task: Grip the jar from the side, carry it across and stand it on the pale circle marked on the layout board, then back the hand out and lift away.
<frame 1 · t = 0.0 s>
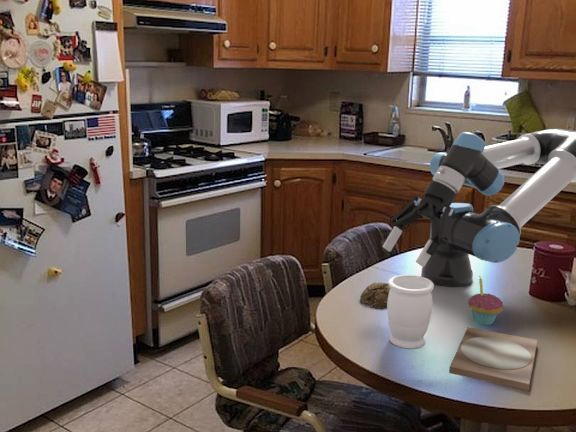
hand: (402, 256, 159), 15 cm above the table, tool tilted 35°, fingers open, 13 cm apart
layout board: (494, 358, 138), on the table
bread roll: (382, 301, 171), on the table
cupcake: (483, 321, 158), on the table
jar: (407, 341, 147), on the table
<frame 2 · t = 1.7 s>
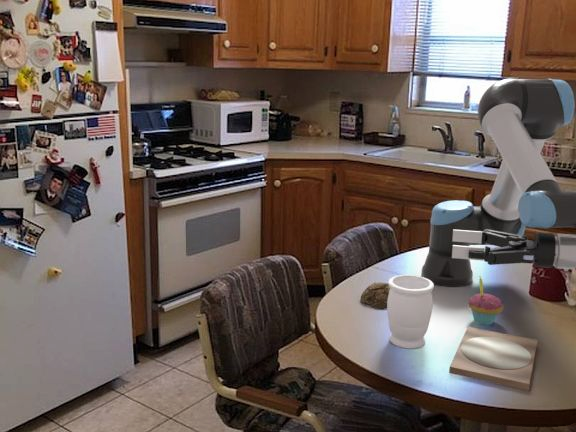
hand: (452, 243, 139), 25 cm above the table, tool horizontal, fingers open, 13 cm apart
nothing on the table moved.
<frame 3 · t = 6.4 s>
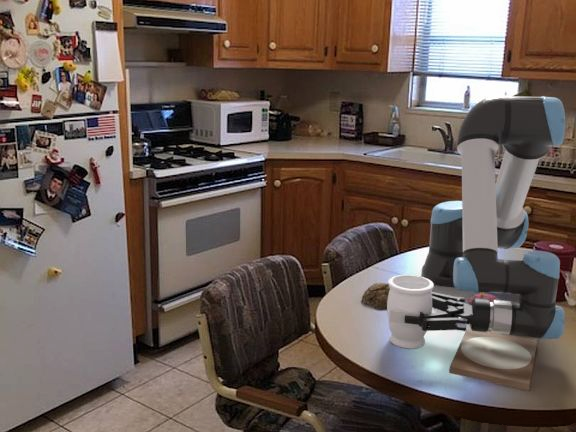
hand: (391, 306, 145), 9 cm above the table, tool horizontal, fingers closed on jar, 10 cm apart
jar: (407, 341, 147), on the table, touching gripper
everything else where it was.
when the fingers open (12 cm above the table, at t = 11.8 s): jar drops 1 cm, resting on layout board.
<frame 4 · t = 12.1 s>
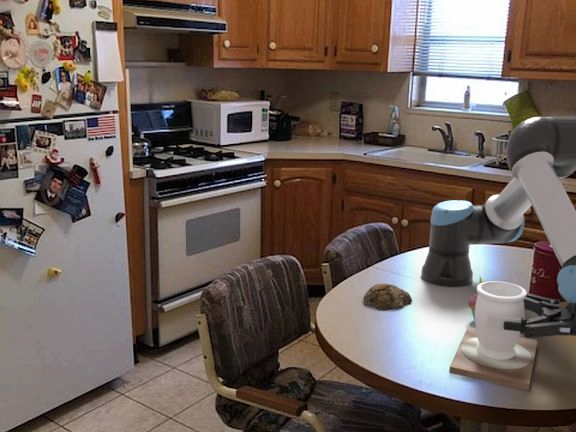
hand: (484, 309, 136), 12 cm above the table, tool horizontal, fingers open, 13 cm apart
jar: (495, 352, 138), point 2 cm above the table, touching layout board
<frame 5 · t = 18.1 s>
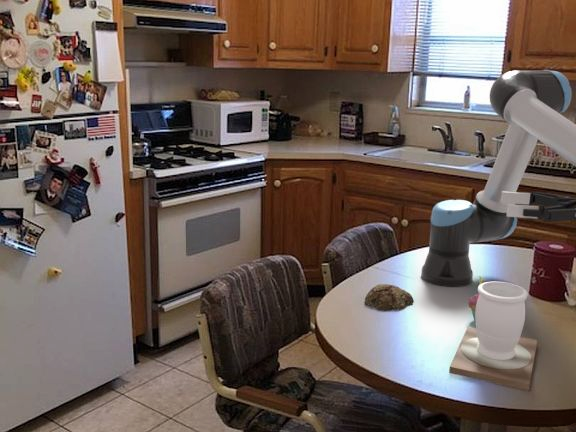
hand: (504, 203, 146), 32 cm above the table, tool horizontal, fingers open, 13 cm apart
at the end: jar 0.0 cm from the layout board (horizontally); jar tilted 0°; jar touching layout board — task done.
